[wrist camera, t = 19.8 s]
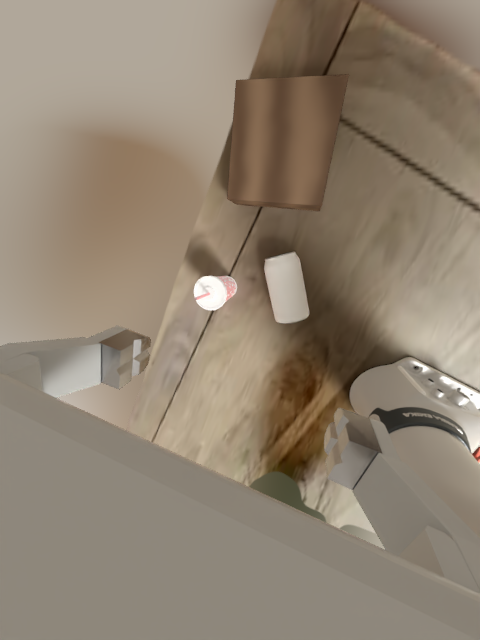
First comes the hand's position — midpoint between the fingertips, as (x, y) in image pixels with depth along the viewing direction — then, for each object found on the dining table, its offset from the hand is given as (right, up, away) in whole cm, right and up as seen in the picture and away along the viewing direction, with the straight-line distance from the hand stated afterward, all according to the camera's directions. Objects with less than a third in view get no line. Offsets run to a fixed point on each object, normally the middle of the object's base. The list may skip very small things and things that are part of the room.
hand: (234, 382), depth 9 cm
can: (+10, +3, +33) cm, 35 cm away
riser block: (+8, +30, +29) cm, 42 cm away
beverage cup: (-3, +10, +38) cm, 40 cm away
